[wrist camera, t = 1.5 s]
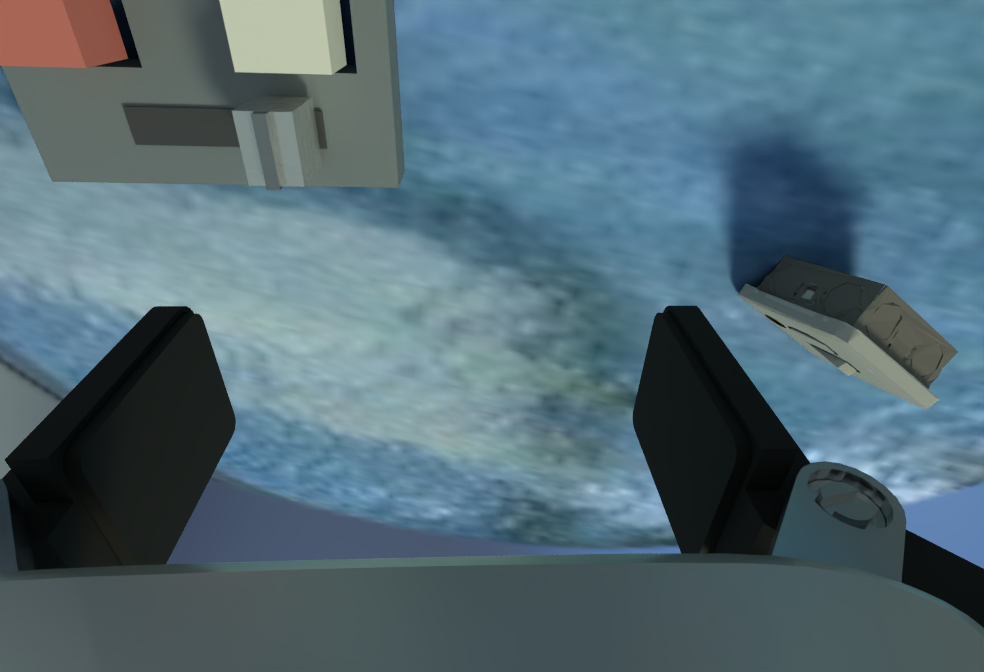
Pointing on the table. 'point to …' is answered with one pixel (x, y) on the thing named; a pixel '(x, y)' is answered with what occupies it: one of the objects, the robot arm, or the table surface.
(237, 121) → the grooved grey block
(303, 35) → the ivory button
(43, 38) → the red button
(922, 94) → the table surface
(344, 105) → the panel
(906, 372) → the electrical switch
